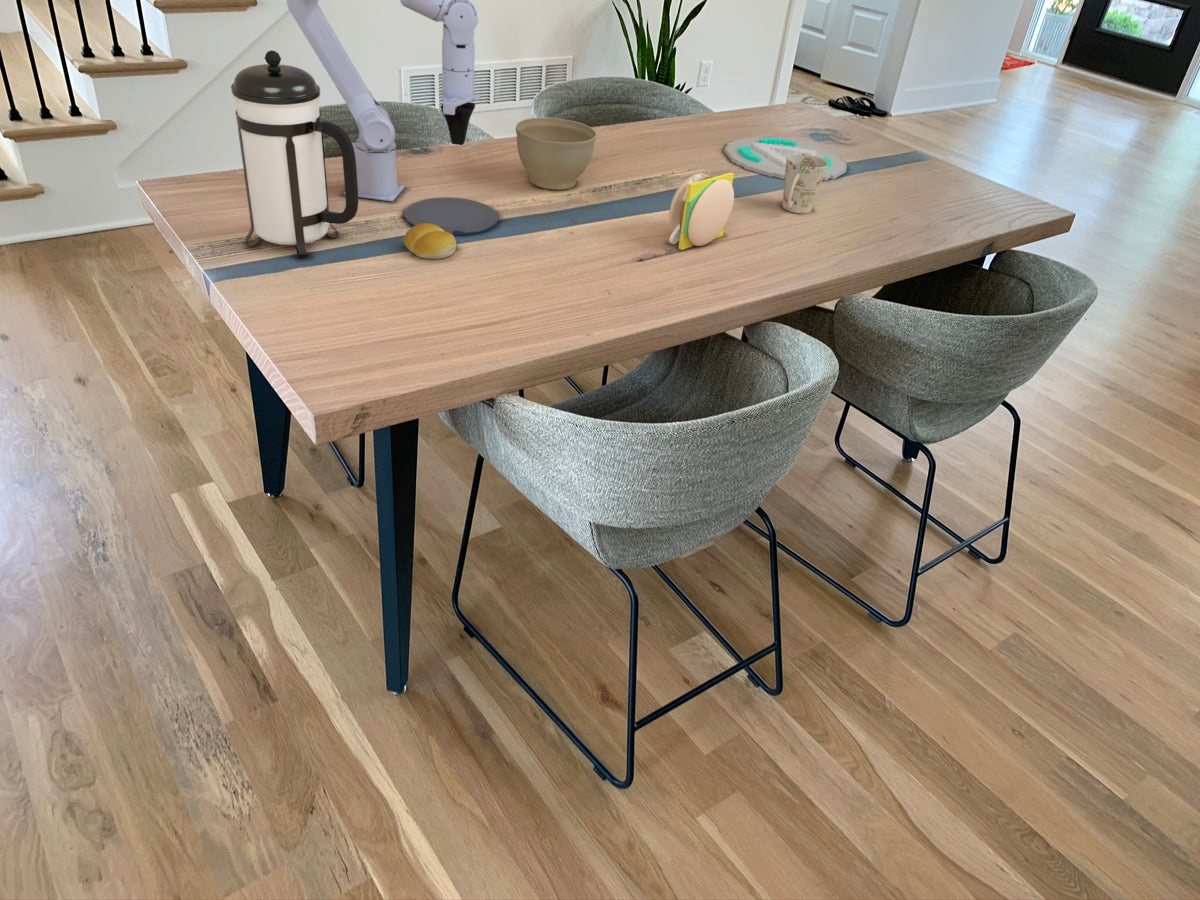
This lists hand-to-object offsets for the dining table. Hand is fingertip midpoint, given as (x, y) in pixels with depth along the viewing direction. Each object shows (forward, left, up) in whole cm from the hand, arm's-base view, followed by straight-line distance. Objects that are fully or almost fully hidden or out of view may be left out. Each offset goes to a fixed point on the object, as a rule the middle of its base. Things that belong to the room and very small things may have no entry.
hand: (458, 143), depth 171 cm
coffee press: (-19, -32, -10) cm, 38 cm away
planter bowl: (+17, +12, -10) cm, 23 cm away
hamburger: (+47, -8, -10) cm, 49 cm away
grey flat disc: (+67, +48, -10) cm, 83 cm away
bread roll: (+2, -28, -10) cm, 30 cm away
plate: (+2, -13, -9) cm, 16 cm away
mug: (+67, +14, -10) cm, 69 cm away
